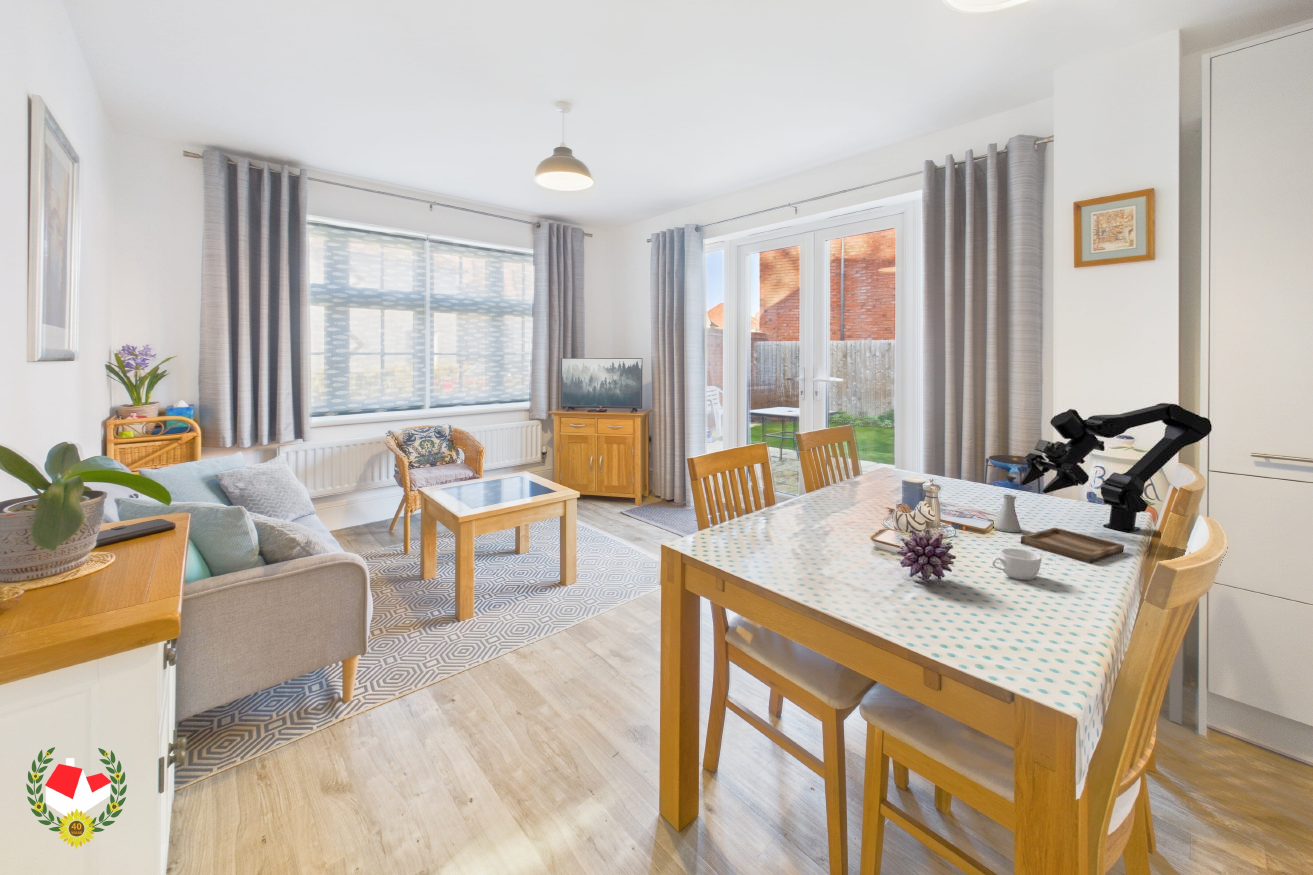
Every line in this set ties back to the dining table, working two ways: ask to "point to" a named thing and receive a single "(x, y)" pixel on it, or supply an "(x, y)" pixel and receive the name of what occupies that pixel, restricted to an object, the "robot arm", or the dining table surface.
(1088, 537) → the walnut tray
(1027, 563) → the teacup
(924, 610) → the dining table surface
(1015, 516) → the flask
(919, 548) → the flower
